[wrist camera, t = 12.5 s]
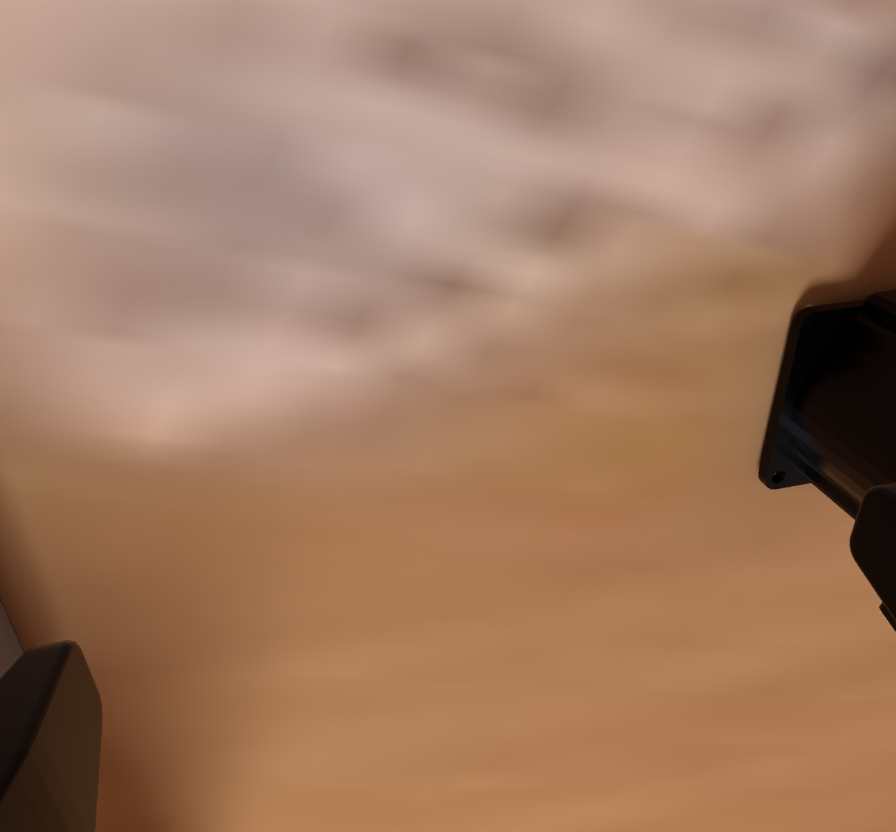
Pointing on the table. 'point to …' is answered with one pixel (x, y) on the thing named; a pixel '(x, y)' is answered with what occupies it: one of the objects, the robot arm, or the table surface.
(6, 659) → the box
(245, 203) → the table surface
